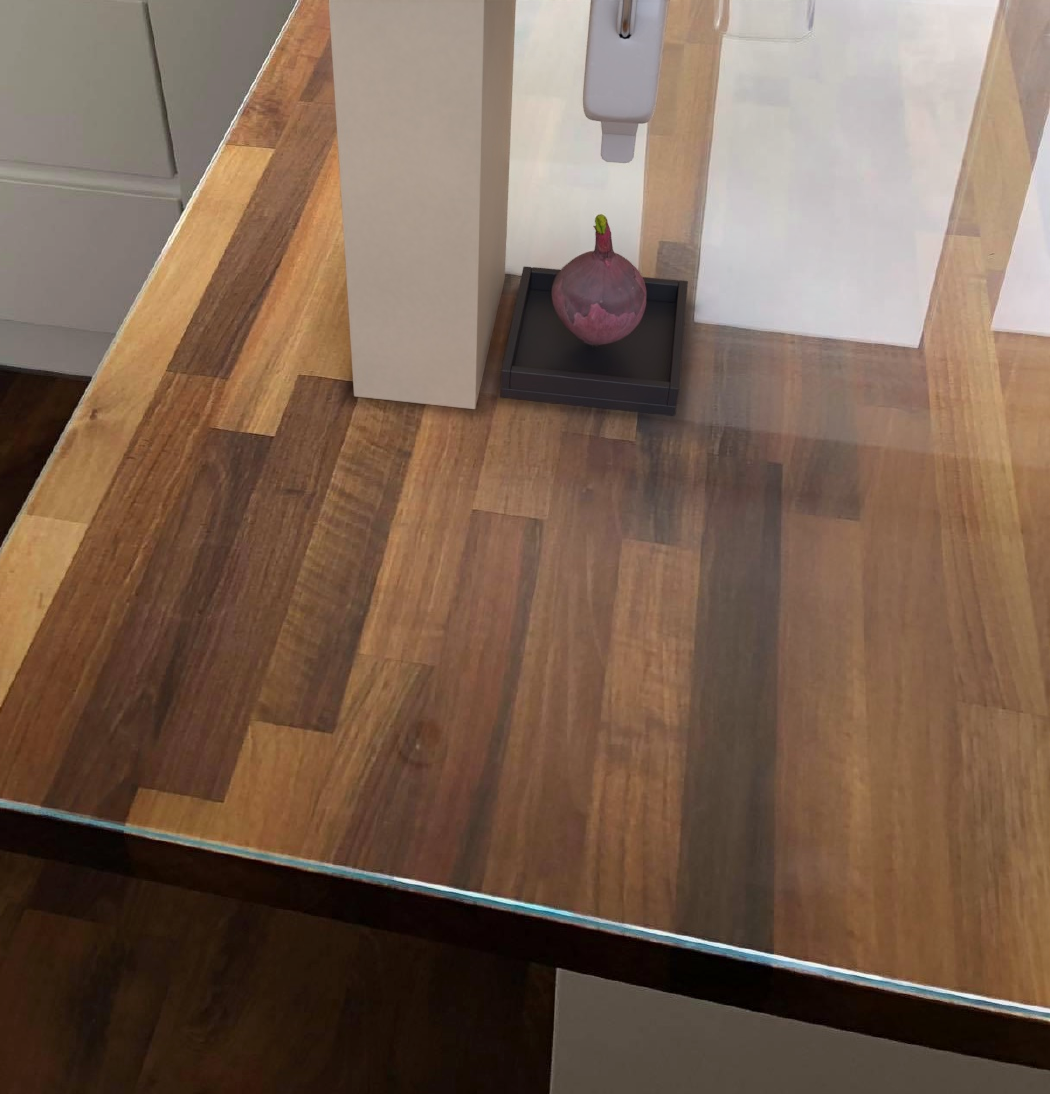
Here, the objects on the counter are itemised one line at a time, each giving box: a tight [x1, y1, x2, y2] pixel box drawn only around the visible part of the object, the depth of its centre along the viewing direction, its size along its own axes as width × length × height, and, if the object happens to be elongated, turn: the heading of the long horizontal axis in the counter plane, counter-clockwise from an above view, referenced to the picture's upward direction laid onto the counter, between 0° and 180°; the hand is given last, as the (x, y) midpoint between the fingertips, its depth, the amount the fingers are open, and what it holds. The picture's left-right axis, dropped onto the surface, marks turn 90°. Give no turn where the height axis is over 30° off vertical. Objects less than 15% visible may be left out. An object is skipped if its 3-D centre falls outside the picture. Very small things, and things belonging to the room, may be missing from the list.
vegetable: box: [552, 213, 646, 346], centre depth 88 cm, size 6×6×10 cm
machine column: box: [328, 0, 517, 410], centre depth 83 cm, size 9×15×30 cm, turn 169°
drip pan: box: [499, 265, 689, 417], centre depth 91 cm, size 11×11×2 cm
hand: (624, 111), depth 79 cm, fingers open, 8 cm apart
